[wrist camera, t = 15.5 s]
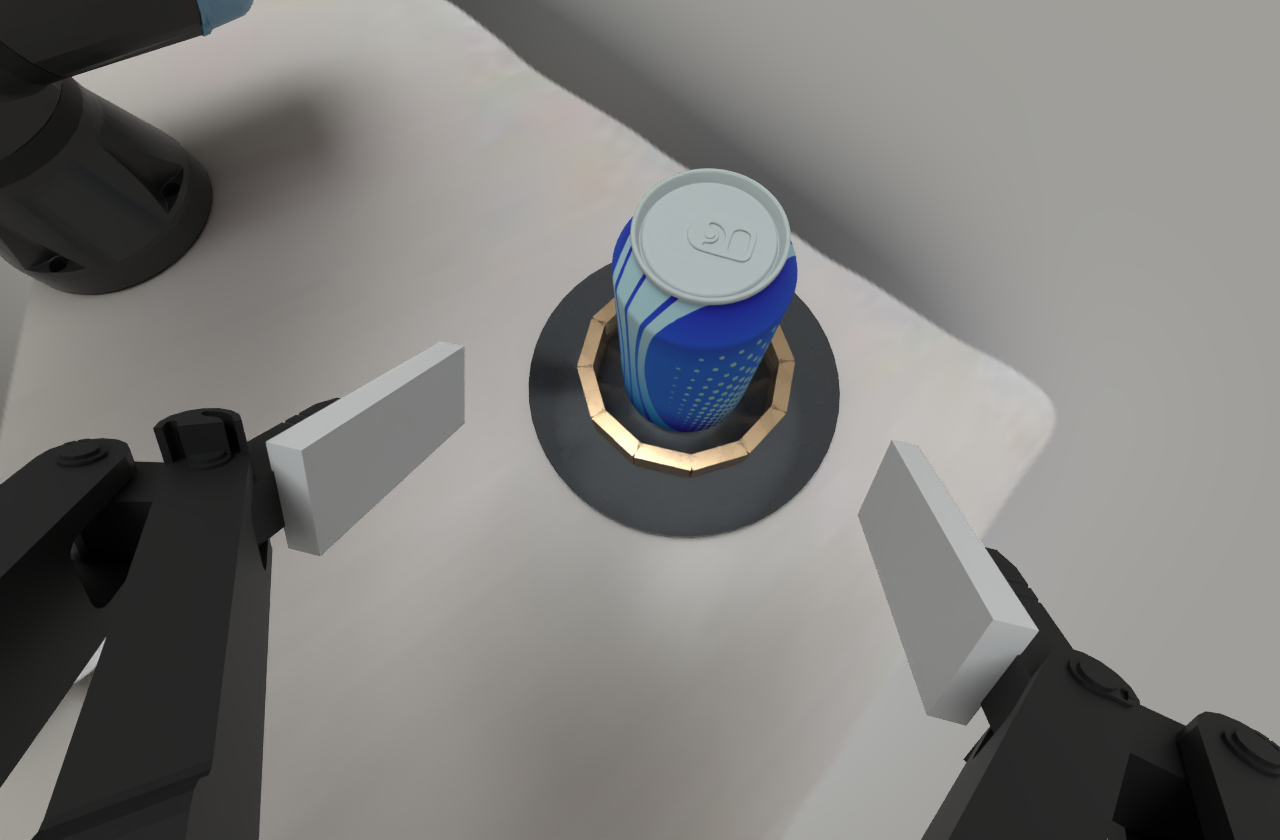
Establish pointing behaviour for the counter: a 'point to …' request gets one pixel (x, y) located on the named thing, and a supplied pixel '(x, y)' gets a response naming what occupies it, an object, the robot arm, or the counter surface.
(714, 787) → the counter surface
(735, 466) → the collar plate
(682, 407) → the beer can
